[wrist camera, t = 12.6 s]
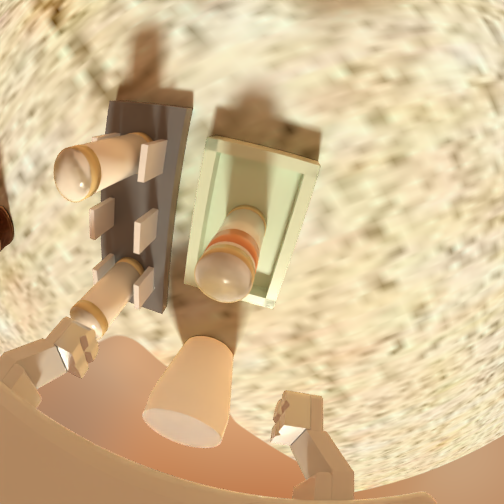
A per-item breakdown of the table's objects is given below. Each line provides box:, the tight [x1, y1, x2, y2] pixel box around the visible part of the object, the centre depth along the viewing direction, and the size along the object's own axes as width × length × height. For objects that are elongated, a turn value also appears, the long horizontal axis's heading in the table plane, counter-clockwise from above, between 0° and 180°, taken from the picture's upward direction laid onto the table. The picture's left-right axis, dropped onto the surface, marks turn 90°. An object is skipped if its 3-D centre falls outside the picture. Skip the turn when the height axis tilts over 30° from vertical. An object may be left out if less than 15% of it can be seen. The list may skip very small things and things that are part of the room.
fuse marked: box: [194, 205, 267, 303], centre depth 21 cm, size 4×4×9 cm
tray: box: [184, 135, 321, 309], centre depth 25 cm, size 14×9×2 cm, turn 167°
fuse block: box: [89, 101, 193, 314], centre depth 25 cm, size 22×8×5 cm, turn 167°
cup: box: [143, 336, 233, 448], centre depth 30 cm, size 9×9×12 cm
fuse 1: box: [54, 132, 153, 202], centre depth 19 cm, size 4×4×9 cm
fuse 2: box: [70, 257, 144, 340], centre depth 25 cm, size 4×4×9 cm
